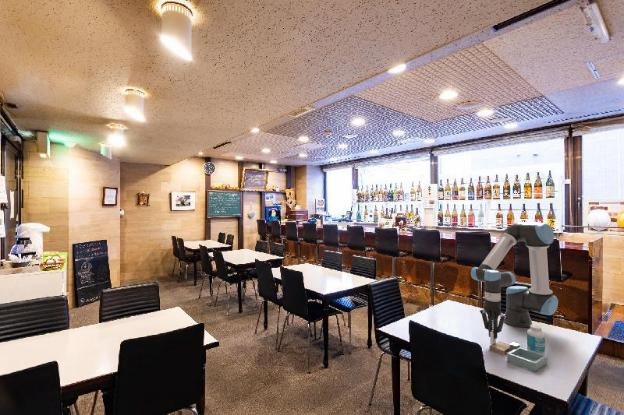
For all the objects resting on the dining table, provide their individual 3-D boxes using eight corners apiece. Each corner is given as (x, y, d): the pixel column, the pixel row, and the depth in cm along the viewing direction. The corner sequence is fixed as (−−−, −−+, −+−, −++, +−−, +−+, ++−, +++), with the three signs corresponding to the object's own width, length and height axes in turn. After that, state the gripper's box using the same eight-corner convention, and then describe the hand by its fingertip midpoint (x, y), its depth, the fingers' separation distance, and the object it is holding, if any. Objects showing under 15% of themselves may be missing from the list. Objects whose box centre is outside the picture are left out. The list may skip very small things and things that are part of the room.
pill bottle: (537, 357, 154) (536, 330, 154) (523, 350, 161) (523, 324, 161) (548, 355, 156) (548, 328, 156) (534, 348, 163) (534, 323, 163)
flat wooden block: (499, 345, 168) (499, 341, 168) (513, 350, 163) (513, 345, 163) (489, 350, 163) (489, 345, 163) (503, 355, 157) (503, 350, 157)
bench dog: (513, 351, 160) (513, 342, 160) (519, 354, 157) (519, 344, 157) (509, 354, 158) (509, 344, 158) (516, 356, 155) (516, 346, 155)
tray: (518, 354, 157) (518, 346, 157) (547, 364, 147) (547, 356, 147) (507, 361, 150) (507, 353, 150) (535, 372, 140) (535, 363, 140)
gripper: (476, 298, 170) (477, 341, 170) (502, 304, 159) (502, 350, 159) (484, 295, 174) (484, 337, 174) (509, 301, 163) (509, 346, 163)
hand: (493, 343), depth 166 cm, fingers closed
